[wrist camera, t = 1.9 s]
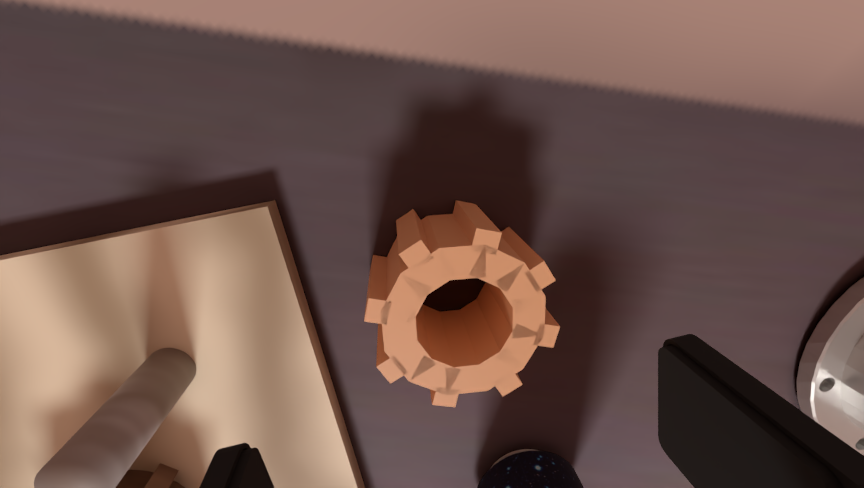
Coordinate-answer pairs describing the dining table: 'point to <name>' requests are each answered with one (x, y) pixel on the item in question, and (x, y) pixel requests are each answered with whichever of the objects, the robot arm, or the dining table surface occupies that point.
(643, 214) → the dining table surface
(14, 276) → the gear board
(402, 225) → the loose gear
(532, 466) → the beverage can
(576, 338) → the dining table surface
